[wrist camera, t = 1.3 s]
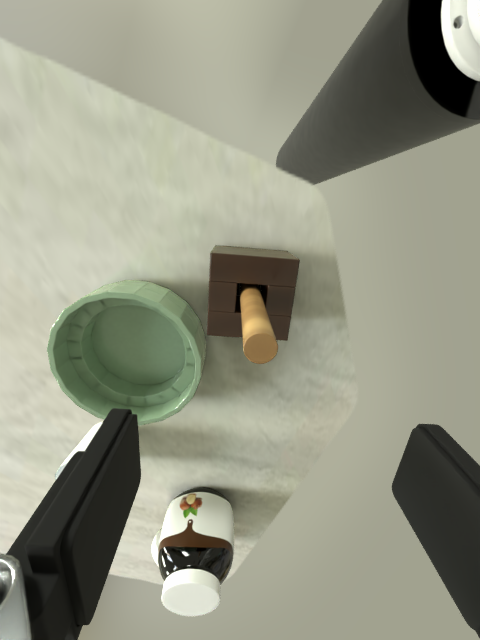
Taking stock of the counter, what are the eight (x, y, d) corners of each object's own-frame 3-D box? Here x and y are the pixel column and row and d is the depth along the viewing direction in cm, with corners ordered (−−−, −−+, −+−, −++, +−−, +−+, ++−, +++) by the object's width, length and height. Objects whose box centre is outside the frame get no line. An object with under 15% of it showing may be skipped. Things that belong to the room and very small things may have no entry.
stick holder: (214, 245, 29) (210, 252, 24) (287, 251, 30) (300, 259, 24) (211, 314, 32) (206, 335, 27) (278, 318, 33) (287, 340, 27)
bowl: (69, 274, 30) (34, 286, 25) (208, 284, 31) (203, 298, 26) (85, 391, 36) (60, 421, 30) (204, 398, 36) (198, 428, 31)
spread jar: (235, 486, 42) (235, 581, 31) (231, 535, 46) (230, 635, 35) (155, 483, 42) (127, 579, 31) (158, 533, 46) (134, 633, 35)
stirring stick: (240, 274, 31) (244, 331, 16) (258, 275, 31) (280, 334, 16) (238, 291, 31) (242, 363, 16) (256, 293, 31) (275, 364, 16)
